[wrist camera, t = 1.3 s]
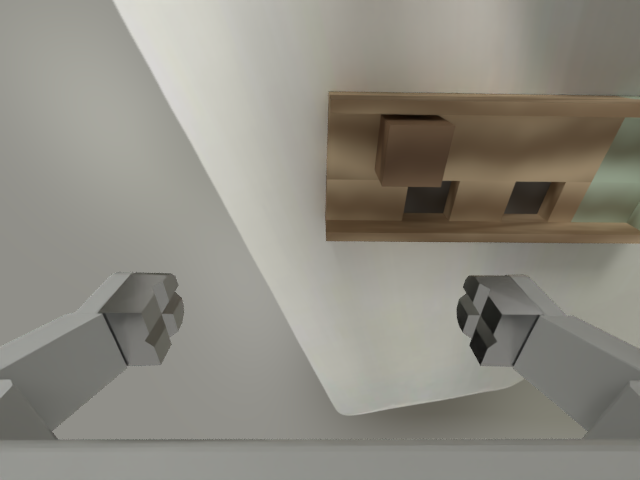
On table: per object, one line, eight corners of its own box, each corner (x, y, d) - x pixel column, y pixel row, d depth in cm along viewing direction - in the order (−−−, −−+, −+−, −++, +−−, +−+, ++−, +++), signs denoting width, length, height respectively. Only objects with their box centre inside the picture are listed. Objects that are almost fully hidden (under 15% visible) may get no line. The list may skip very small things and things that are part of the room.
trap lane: (328, 91, 28) (330, 99, 24) (691, 96, 28) (749, 105, 24) (325, 219, 35) (326, 241, 31) (615, 221, 35) (651, 243, 31)
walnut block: (380, 114, 27) (390, 124, 23) (438, 115, 27) (455, 125, 23) (374, 170, 29) (381, 186, 26) (426, 170, 30) (440, 187, 26)
